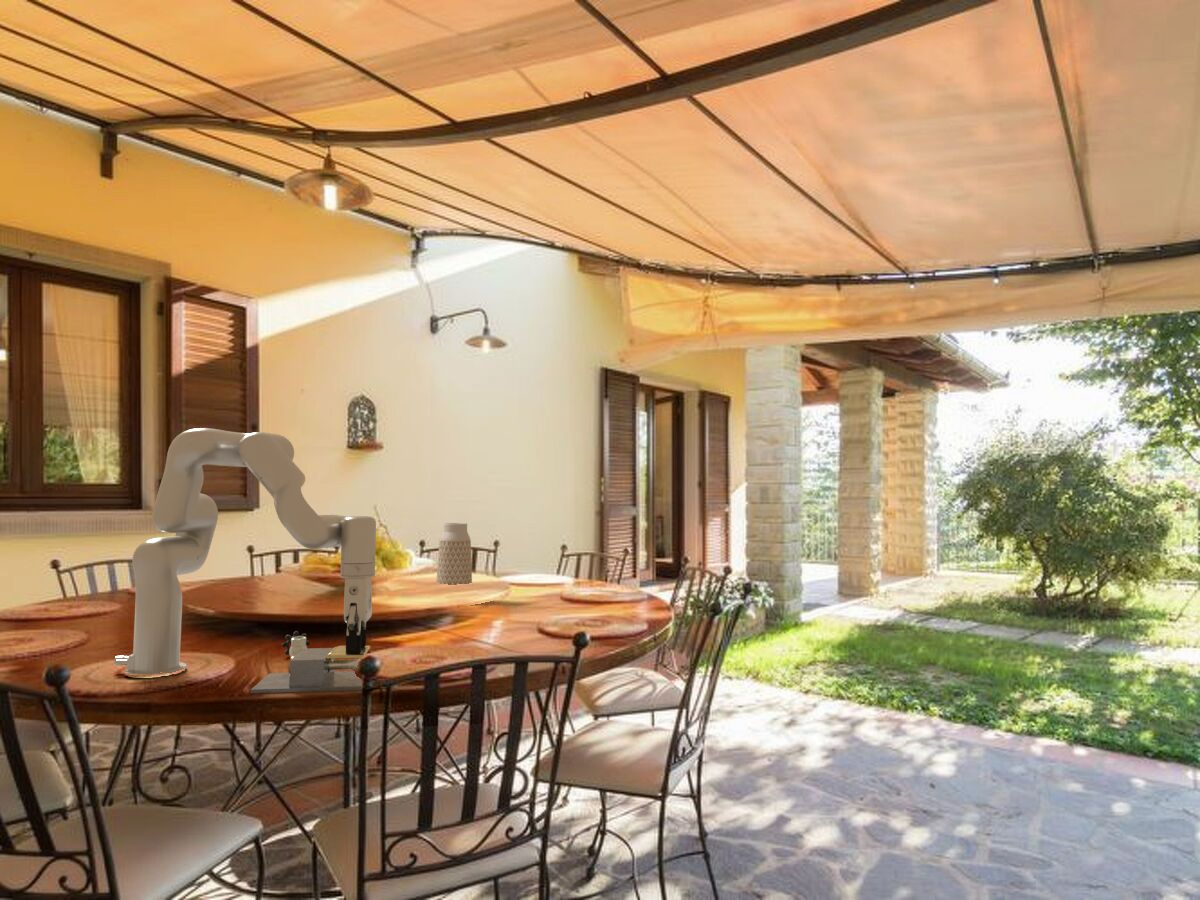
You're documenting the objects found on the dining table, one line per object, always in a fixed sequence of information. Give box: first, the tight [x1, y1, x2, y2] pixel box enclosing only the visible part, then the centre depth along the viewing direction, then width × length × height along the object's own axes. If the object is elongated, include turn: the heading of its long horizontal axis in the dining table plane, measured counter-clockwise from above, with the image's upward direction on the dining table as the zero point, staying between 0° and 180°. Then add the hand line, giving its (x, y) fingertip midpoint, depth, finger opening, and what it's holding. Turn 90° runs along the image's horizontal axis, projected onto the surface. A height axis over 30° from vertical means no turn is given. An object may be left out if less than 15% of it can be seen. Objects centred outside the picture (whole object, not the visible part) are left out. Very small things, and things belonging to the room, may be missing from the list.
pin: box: [287, 655, 359, 676], centre depth 164 cm, size 14×4×4 cm, turn 99°
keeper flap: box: [326, 645, 371, 660], centre depth 165 cm, size 8×10×1 cm
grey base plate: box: [250, 647, 363, 694], centre depth 164 cm, size 23×14×6 cm, turn 99°
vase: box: [435, 522, 473, 585], centre depth 287 cm, size 14×14×31 cm
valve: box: [281, 630, 310, 657], centre depth 185 cm, size 7×7×12 cm
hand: (355, 649), depth 166 cm, fingers closed on keeper flap, 6 cm apart
